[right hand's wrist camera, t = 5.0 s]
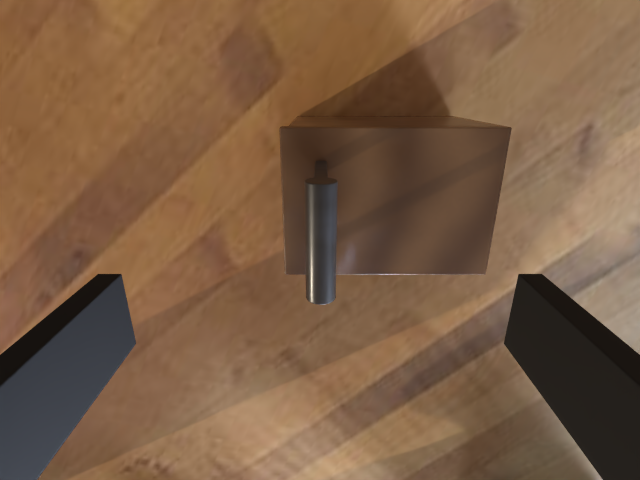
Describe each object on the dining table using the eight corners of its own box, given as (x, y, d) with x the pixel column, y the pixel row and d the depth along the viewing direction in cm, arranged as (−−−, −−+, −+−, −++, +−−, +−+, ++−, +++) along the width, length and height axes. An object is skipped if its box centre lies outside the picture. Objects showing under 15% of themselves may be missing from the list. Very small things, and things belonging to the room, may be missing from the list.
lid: (285, 269, 27) (273, 335, 20) (280, 126, 23) (263, 142, 16) (480, 269, 27) (540, 335, 20) (505, 126, 23) (589, 142, 16)
